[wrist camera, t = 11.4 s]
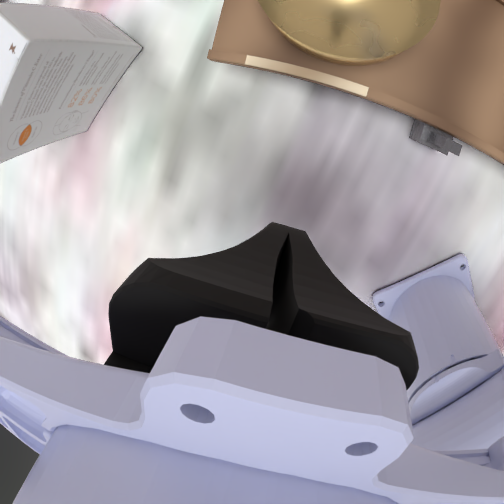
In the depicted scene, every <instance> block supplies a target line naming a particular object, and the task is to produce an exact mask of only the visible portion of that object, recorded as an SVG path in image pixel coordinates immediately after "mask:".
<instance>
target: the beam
mask: <svg viewBox="0 0 504 504" xmlns="http://www.w3.org/2000/svg"><path fill="white" fill-rule="evenodd" d="M207 58H208V59H209V60H211V61H215V62H220V63H227V64H233V65H238V66H244V67H249V68H254V69H259V70H264V71H269V72H273V73H278V74H282V75H286V76H290V77H294V78H298V79H302V80H306V81H309V82H313V83H317V84H320V85H323V86H327V87H330V88H333V89H337V90H340V91H343V92H346V93H349V94H352V95H355V96H358V97H361V98H364V99H367V100H369V101H372V102H375V103H377V104H380V105H383V106H385V107H388V108H390V109H393V110H396V111H398V112H400V113H403V114H405V115H408V116H410V117H412V118H415V119H417V120H419V121H421V122H424V123H426V124H428V125H430V126H432V127H435V128H437V129H439V130H441V131H443V132H445V133H447V134H449V135H451V136H453V137H455V138H457V139H459V140H461V141H463V142H465V143H467V144H468V145H470V146H472V147H474V148H476V149H478V150H479V151H481V152H483V153H485V154H486V155H488V156H490V157H492V158H493V159H495V160H497V161H498V162H500V163H502V164H503V165H504V0H441V3H440V9H439V14H438V16H437V19H436V22H435V23H434V25H433V27H432V29H431V30H430V31H429V32H428V34H427V35H426V36H425V37H424V38H423V39H422V40H421V41H419V42H418V43H417V44H415V45H414V46H412V47H410V48H409V49H407V50H405V51H403V52H401V53H400V54H398V55H396V56H394V57H392V58H390V59H388V60H386V61H383V62H379V63H376V64H371V65H364V66H348V65H340V64H334V63H330V62H326V61H323V60H320V59H318V58H315V57H313V56H311V55H309V54H307V53H305V52H303V51H301V50H300V49H298V48H297V47H295V46H294V45H293V44H291V43H290V42H289V41H288V40H287V39H286V38H285V37H284V36H283V35H282V34H281V33H280V32H279V31H278V30H277V28H276V27H275V26H274V24H273V23H272V21H271V20H270V18H269V17H268V16H267V14H266V13H265V11H264V10H263V9H262V7H261V5H260V3H259V2H258V0H224V3H223V7H222V11H221V15H220V18H219V22H218V26H217V30H216V34H215V38H214V42H213V47H212V50H210V49H209V52H208V56H207Z"/></svg>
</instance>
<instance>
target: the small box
mask: <svg viewBox="0 0 504 504" xmlns="http://www.w3.org/2000/svg"><path fill="white" fill-rule="evenodd" d="M141 49H142V47H141V46H140V45H139V44H138V43H136V42H135V41H134V40H133V39H131V38H130V37H129V36H128V35H126V34H125V33H124V32H123V31H121V30H120V29H119V28H117V27H116V26H115V25H114V24H112V23H111V22H110V21H108V20H107V19H106V18H104V17H103V16H102V15H100V14H99V13H96V12H90V11H84V10H79V9H72V8H65V7H57V6H49V5H38V4H25V3H0V163H2V162H5V161H7V160H9V159H12V158H14V157H16V156H19V155H21V154H24V153H26V152H29V151H32V150H34V149H37V148H39V147H42V146H45V145H47V144H50V143H53V142H55V141H58V140H61V139H64V138H67V137H70V136H73V135H76V134H79V133H83V132H86V131H87V130H88V128H89V126H90V125H91V123H92V121H93V119H94V118H95V116H96V114H97V113H98V111H99V110H100V108H101V106H102V105H103V103H104V102H105V100H106V99H107V97H108V95H109V94H110V92H111V91H112V89H113V88H114V87H115V85H116V84H117V82H118V81H119V79H120V78H121V76H122V75H123V73H124V72H125V71H126V69H127V68H128V66H129V65H130V64H131V62H132V61H133V60H134V58H135V57H136V56H137V54H138V53H139V52H140V51H141Z"/></svg>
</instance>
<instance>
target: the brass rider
mask: <svg viewBox="0 0 504 504" xmlns="http://www.w3.org/2000/svg"><path fill="white" fill-rule="evenodd" d="M258 2H259V3H260V5H261V7H262V9H263V10H264V11H265V13H266V14H267V16H268V17H269V18H270V20H271V21H272V23H273V24H274V26H275V27H276V28H277V30H278V31H279V32H280V33H281V34H282V35H283V36H284V37H285V38H286V39H287V40H288V41H289V42H290V43H291V44H293V45H294V46H295V47H297V48H298V49H300V50H301V51H303V52H305V53H307V54H309V55H311V56H313V57H315V58H318V59H320V60H323V61H326V62H330V63H334V64H340V65H348V66H364V65H371V64H376V63H379V62H383V61H386V60H388V59H390V58H392V57H394V56H396V55H398V54H400V53H401V52H403V51H405V50H407V49H409V48H410V47H412V46H414V45H415V44H417V43H418V42H419V41H421V40H422V39H423V38H424V37H425V36H426V35H427V34H428V32H429V31H430V30H431V29H432V27H433V25H434V23H435V22H436V19H437V16H438V14H439V9H440V3H441V0H258Z"/></svg>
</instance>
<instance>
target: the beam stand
mask: <svg viewBox="0 0 504 504" xmlns="http://www.w3.org/2000/svg"><path fill="white" fill-rule="evenodd" d="M409 138H411V139H413V140H415V141H417V142H419V143H421V144H424V145H426V146H428V147H430V148H432V149H435V150H437V151H439V152H441V153H443V154H445V155H448V152H451V153H454V154H456V155H458V156H459V154H460V151H461V148H462V145H460V144H458V143H456V142H454V141H452V140H453V136H451V135H449V134H447V133H445V132H443V131H441V130H439V129H437V128H435V127H432V126H430V125H428V124H426V123H424V122H421V121H419V120H417V119H415V121H414V124H413V127H412V130H411V133H410V136H409Z"/></svg>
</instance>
